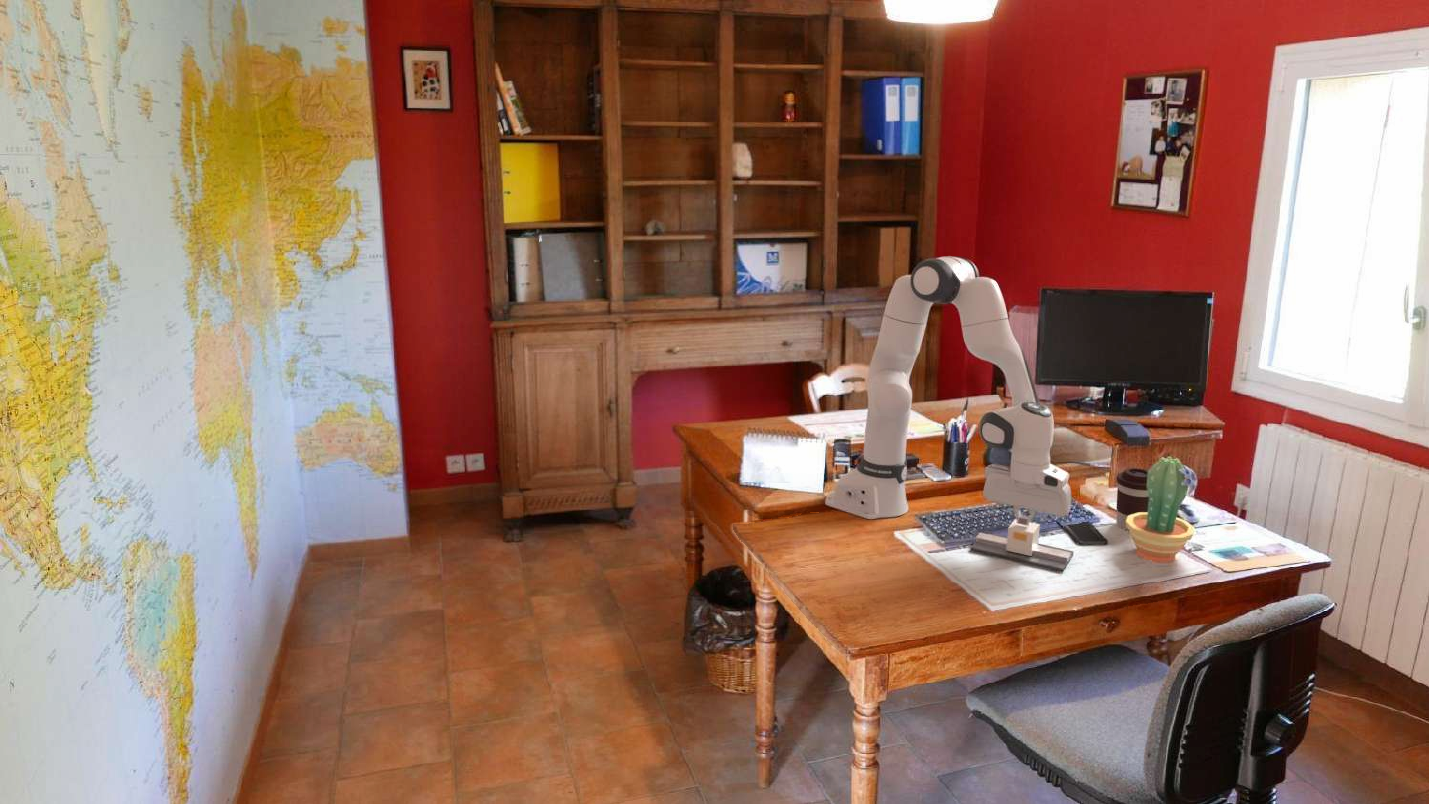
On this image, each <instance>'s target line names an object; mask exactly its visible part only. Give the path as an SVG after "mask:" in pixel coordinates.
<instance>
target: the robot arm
mask: <svg viewBox="0 0 1429 804" xmlns="http://www.w3.org/2000/svg"><path fill="white" fill-rule="evenodd" d="M911 271H912V272H911V273H910V274H906V275H902V276H900V277H898V278H897V279H896V280H895V282H894V283H893V287H892V288H891V290H890V293H889V295H888V299H887V302H886V304H885V309H884V311H883V316H882V321H881V325H880V328H879V329H880V330H879V333H878V338H877V342H876V345H875V349H874V350H873V351H874V352H873V355H872V358H871V361H870V364H869V367H868V371H867V375H866V378H865V389H866V392H867V414H866V423H865V428H864V441H863V442H864V443H863V444H864V445H863V452H862V453H861V454H860V456H857V458H856V459H855V461H854V462H855V463H854V466H856V467H855V468H854V469H852V470H850V471H849V472H847V473H845V474H844V475H842V476H841V477H840V478H839V479H838V480H837V482H836V484H835V486H834V490H832V491H831V492H829V493H828V495H827V496H826V497H825V501H824V505H826V506H828V507H831V508H834V509H837V510H840V511H843V512H846V513H848V514H853V515H855V516H859V517H861V518H864V519H867V520H875V519H880V518H896V517H898V516H902V515H905V514H906V513H907V512H908V511H909V505H908V501H907V495H906V494H907V493H906V479H907V471H908V468H907V464H908V463H907V462H908V461H907V458H906V453H907V452H906V451H907V439H908V428H909V422H910V418H911V417H910V416H911V409H912V402H913V389H912V388H911V385H910V378H911V374H912V370H913V367H914V364H915V362H916V360H917V357H918V355H919V354H920V352H921V351H920V350H921V348H922V343H923V338H924V334H925V331H926V327H927V322H928V317H929V314H930V310H931V307H932V306H933V305H934V304H943V305H950V304H952V305H954V306H955V307H956V308H957V312H958V314H959V318H960V324H961V331H962V337H963V341H964V343H965V346H966V348H967V350H968V352H969V353H971V354H972V355H973V356H974V357H976V358H978V359H980V360H982V361H986V362H989V363H991V364H993V365H995V366H997V367H998V368H999V369H1000V370H1001V371H1002V373H1003V374H1004V377H1005V380H1006V384H1007V387H1008V390H1009V395H1010V396H1011V400H1012V405H1011V406H1008V407H1003V408H998V409H995V410H994V409H993V410H991V411H989V412H986V413H985V414H984V415H982V417H981V418H980V422H979V426H978V427H979V428H978V430H979V435H980V438H981V440H982V441H983V443H984V444H985V445H986V446H988V447H989V448H991V449H993V450H999V451H1009V452H1011V459H1010V466H1009V465H1003V464H998V463H992V464H989V465H987V466H986V467H985V472H984V476H985V479H986V480H985V483H984V487H983V493H982V496H983V498H984V500H986V501H989V502H994V503H998V504H1003V505H1007V506H1008V505H1009V506H1013V508H1012V510H1013V512H1014V515H1015V516H1016V519H1017V523H1018V524H1022V525H1026V526H1029V525H1030V523H1032V518H1033V517H1034V515H1036V513H1037V512H1040V513H1043V514H1049V515H1055V516H1059V517H1062V518H1065V516H1067V515H1069V513H1070V511H1071V506H1072V489H1071V486H1070V485H1069V483H1068V481H1069V478H1070V473H1068V471H1066V470H1064V469H1062V468H1060V467H1058V466H1056V465H1054V464H1052V463H1051V455H1050V453H1051V452H1050V451H1051V449H1052V446H1053V439H1054V429H1055V426H1054V425H1055V423H1054V422H1055V421H1054V415H1053V412H1052V409H1050V407H1048V406H1046V405H1044V404H1042V403H1041V402H1040V401H1041V400H1040V399H1039V397H1038V393H1037V390H1036V387H1035V384H1034V380H1033V377H1032V373H1031V370H1030V367H1029V364H1028V361H1027V357H1026V355H1025V351H1024V350H1023V347H1022V345H1021V344H1020V343H1019V342H1018V341H1017V340H1016V338H1015V336H1014V335H1013V332H1012V329H1011V326H1010V321H1009V316H1008V311H1007V308H1006V307H1007V306H1006V303H1005V299H1004V296H1003V293H1002V291H1001V288H1000V287H999V284H998V283H997V281H996V280H994V279H993V278H990V277H988V276H980V273H979V270H978V268H977V266H976V265H975V263H973V262H972V261H971V260H970V259H967V258H965V257H962V256H951V255H948V256H940V257H932V258H931V257H929V258H927V259H925V260H923V261H921V262H919V263H918V264H917V265H915V267H914V268H913V270H911ZM1021 509H1027V510H1028V513H1029V515H1027V516H1026V515H1023V514H1022V513H1021V512H1022V511H1021Z"/></svg>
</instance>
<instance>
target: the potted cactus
mask: <svg viewBox="0 0 1429 804" xmlns="http://www.w3.org/2000/svg"><path fill="white" fill-rule="evenodd" d="M1197 486H1198V477H1197V475H1196V472H1195V471H1194V470H1193V469H1192V468H1190V467H1188V466H1187V465H1185V464H1182V462H1181V461H1180V459H1179V458H1174V459H1173V457H1171V456H1170V455H1169V456H1167V457H1166V458H1165V457H1161V458H1159V460H1157V462H1155V463H1154V464H1153V465H1152V466H1151V467H1150V468H1149V470H1148V476H1147V491H1148V495H1149V503H1148V512H1138V513H1135V514H1132V515H1128V517H1127V519H1126V527H1127V528H1128V529H1129V530H1128V531H1129V533H1130V538H1131V541H1132V542H1133V544H1134V545H1135V547H1136V550H1135V553H1136V555H1137V556H1138V557H1140V558H1141V559H1144V560H1146V561H1149V562H1155V563H1158V564H1159V563H1162V564H1163V563H1165V564H1166V563H1172V562H1174V561H1175V560H1176V555H1178V553H1179V552H1181V551H1182V550H1183V549H1184V547H1185V545H1186V544H1187V542H1188V541H1191V540H1192V538H1193V535H1194V532H1195V527H1194V526H1193V525H1192V524H1191V523H1189V522H1188V521H1187V520H1185V519H1182V518H1180V517H1178V513H1179V511H1180V507H1181V504H1183V501H1184V500H1185V499H1186V497H1187V495H1189V496H1190V495H1191V494H1192V493H1193V492H1194V491H1195V490H1196V488H1197Z"/></svg>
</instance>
